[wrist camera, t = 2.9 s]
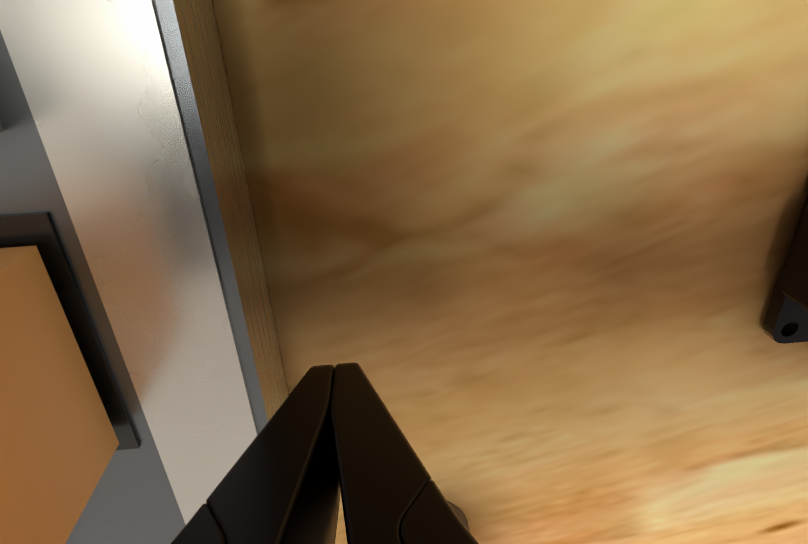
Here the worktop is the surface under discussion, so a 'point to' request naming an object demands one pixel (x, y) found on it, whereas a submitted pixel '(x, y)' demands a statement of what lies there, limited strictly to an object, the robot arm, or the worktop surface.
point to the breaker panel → (141, 242)
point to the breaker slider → (44, 410)
